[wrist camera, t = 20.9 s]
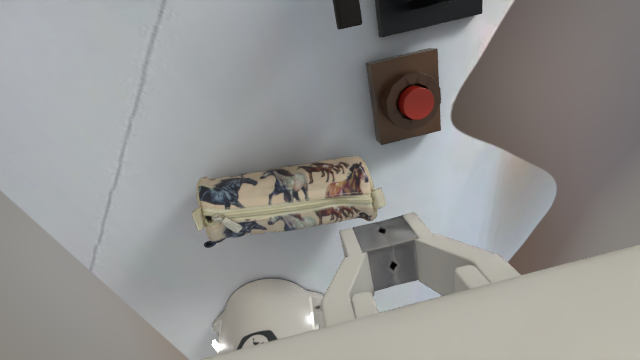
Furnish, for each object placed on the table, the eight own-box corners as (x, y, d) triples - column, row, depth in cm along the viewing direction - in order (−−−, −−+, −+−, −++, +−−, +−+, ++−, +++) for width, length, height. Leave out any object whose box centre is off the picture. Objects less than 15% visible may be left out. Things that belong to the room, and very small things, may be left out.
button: (428, 112, 37) (435, 115, 35) (399, 119, 37) (405, 123, 35) (426, 82, 35) (433, 84, 34) (396, 89, 35) (402, 91, 34)
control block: (433, 126, 42) (448, 134, 38) (376, 140, 41) (386, 149, 38) (429, 48, 37) (445, 48, 34) (366, 63, 37) (375, 65, 33)
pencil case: (215, 220, 43) (200, 266, 34) (200, 165, 40) (178, 200, 31) (366, 198, 45) (388, 237, 36) (364, 143, 41) (388, 171, 32)
